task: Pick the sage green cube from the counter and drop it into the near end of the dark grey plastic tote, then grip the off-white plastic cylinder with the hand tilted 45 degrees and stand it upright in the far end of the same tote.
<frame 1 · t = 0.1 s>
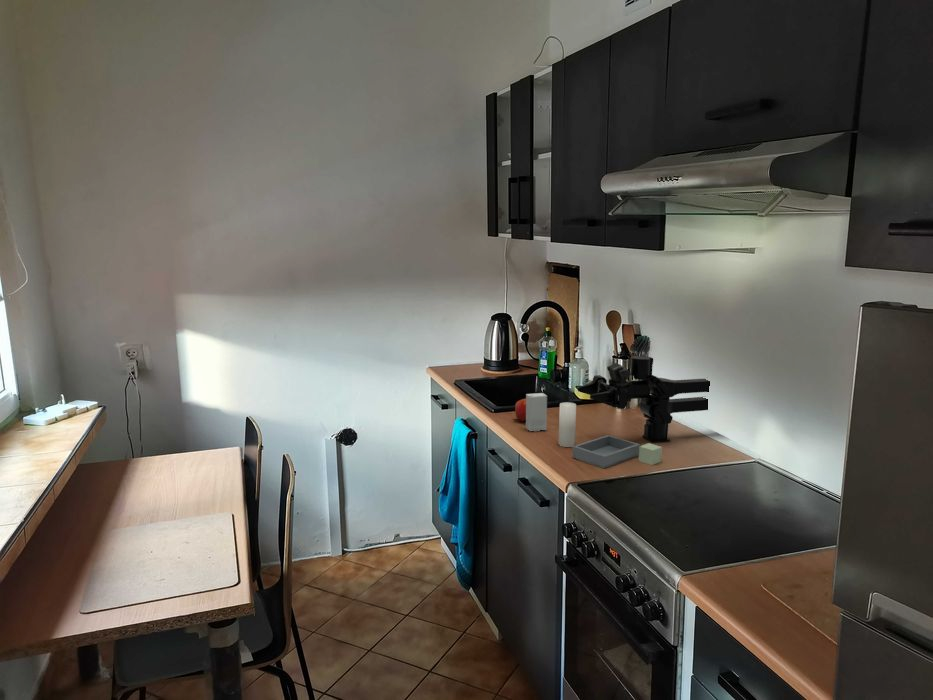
hand: (583, 393, 209), 17 cm above the worktop, tool horizontal, fingers open, 9 cm apart
white cylinder: (566, 445, 212), on the worktop
apple: (526, 422, 237), on the worktop
green cube: (649, 461, 198), on the worktop
tote: (606, 456, 201), on the worktop
skincare box: (535, 430, 227), on the worktop
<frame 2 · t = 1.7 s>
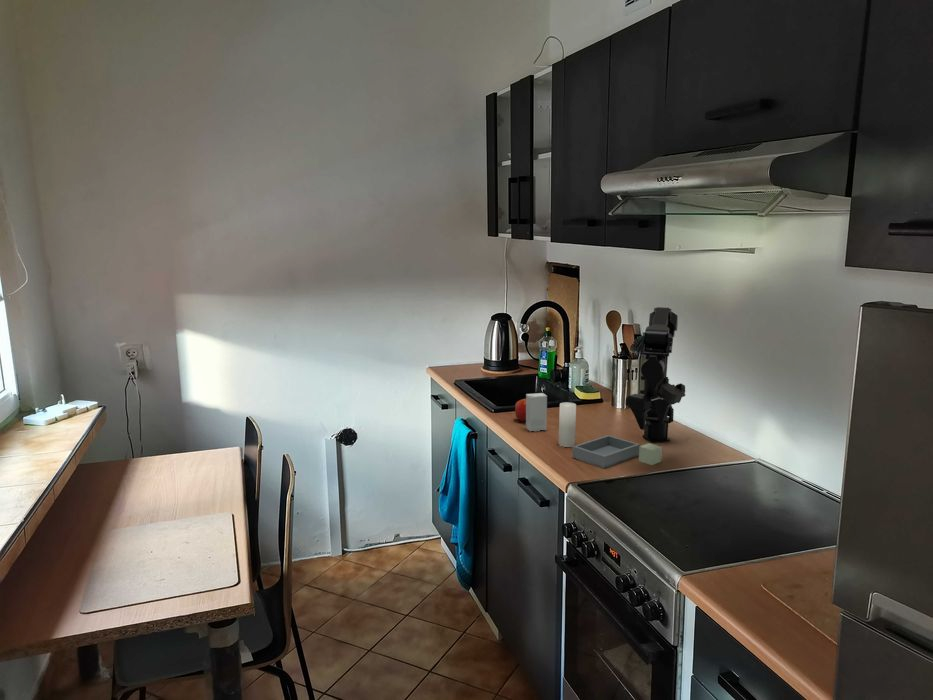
hand: (651, 426, 196), 10 cm above the worktop, tool pointing down, fingers open, 9 cm apart
nothing on the worktop moved.
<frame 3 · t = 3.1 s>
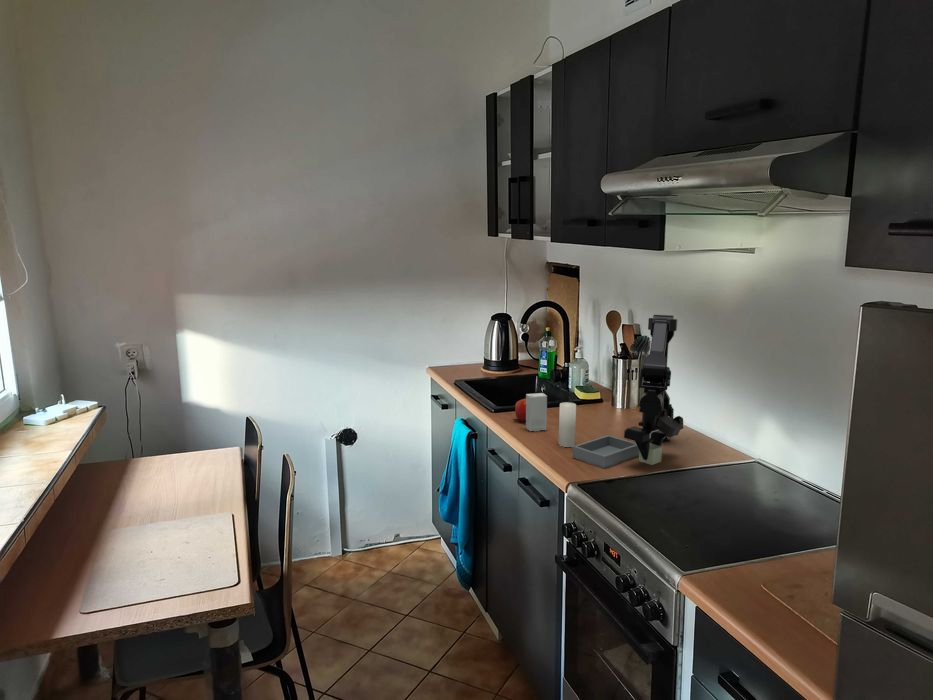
hand: (650, 457, 198), 1 cm above the worktop, tool pointing down, fingers closed on green cube, 4 cm apart
green cube: (649, 461, 198), on the worktop, touching gripper
everything else where it was.
when the fingers open (4 cm above the worktop, at t = 6.9 s): green cube drops 2 cm, resting on tote.
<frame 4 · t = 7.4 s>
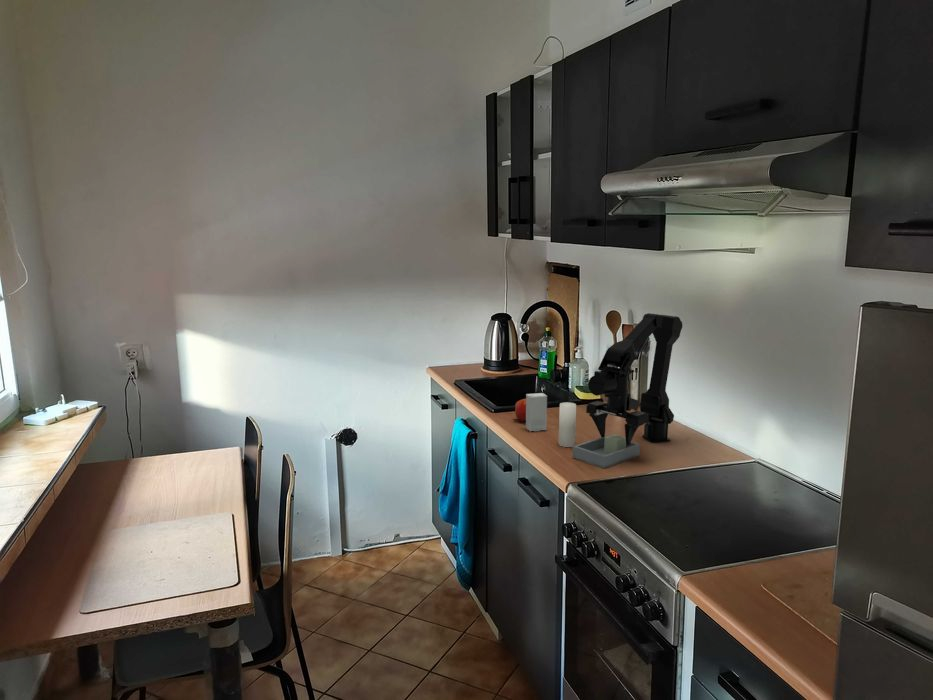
hand: (615, 440, 203), 4 cm above the worktop, tool pointing down, fingers open, 9 cm apart
green cube: (614, 451, 204), point 1 cm above the worktop, touching tote
everything else where it was.
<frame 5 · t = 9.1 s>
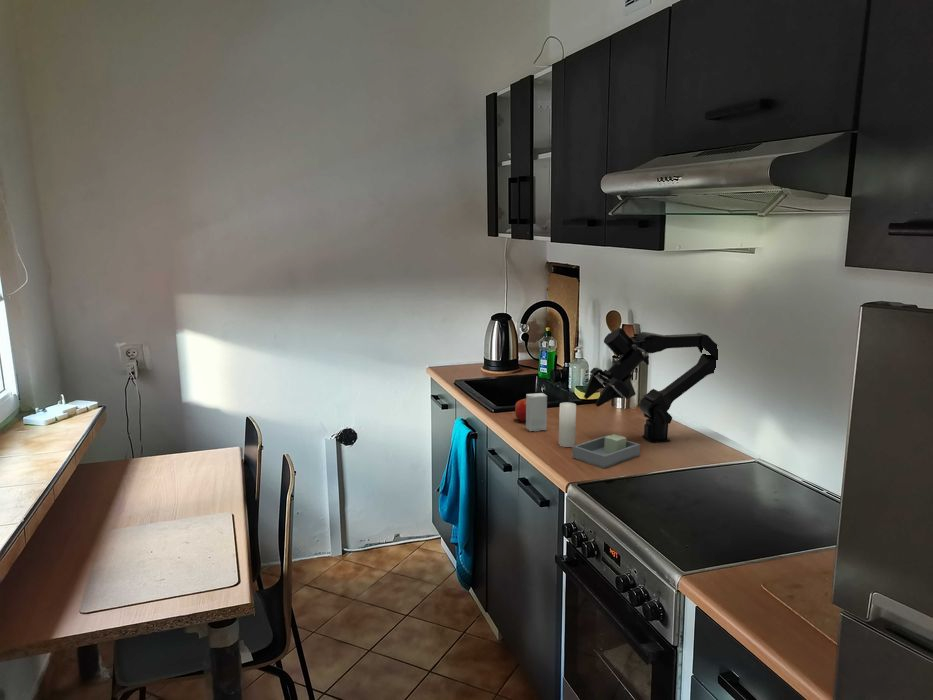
hand: (590, 401, 211), 13 cm above the worktop, tool tilted 45°, fingers open, 9 cm apart
nothing on the worktop moved.
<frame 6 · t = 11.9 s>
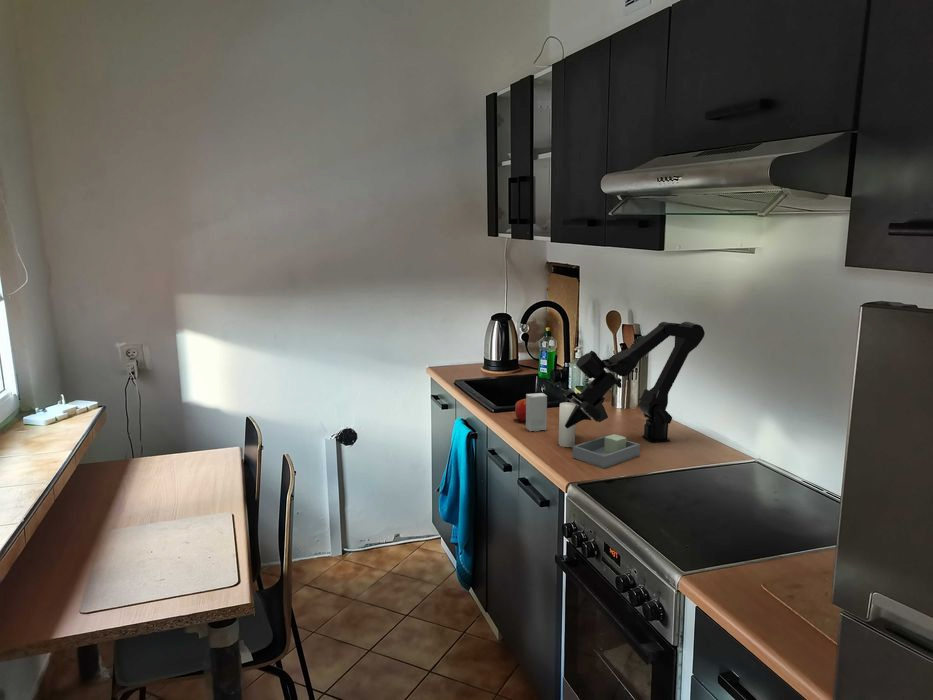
hand: (562, 424, 210), 7 cm above the worktop, tool tilted 45°, fingers closed on white cylinder, 5 cm apart
white cylinder: (566, 445, 212), on the worktop, touching gripper
everything else where it was.
when the fingers open (9 cm above the worktop, at t = 16.3 s): white cylinder drops 1 cm, resting on tote.
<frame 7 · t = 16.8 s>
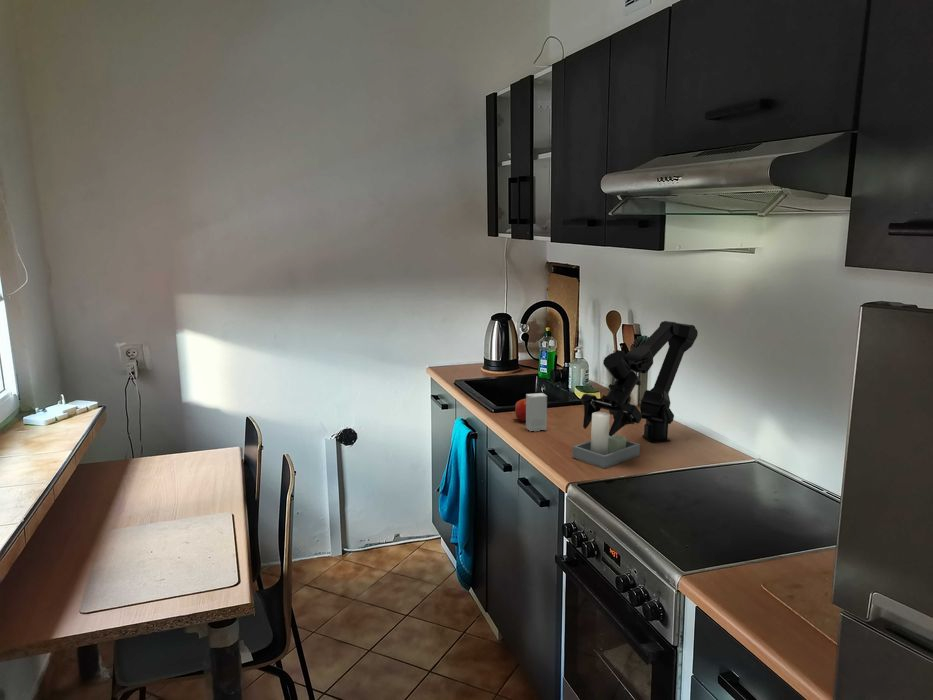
hand: (596, 431, 197), 9 cm above the worktop, tool tilted 45°, fingers open, 9 cm apart
white cylinder: (598, 457, 199), point 1 cm above the worktop, touching tote
everything else where it was.
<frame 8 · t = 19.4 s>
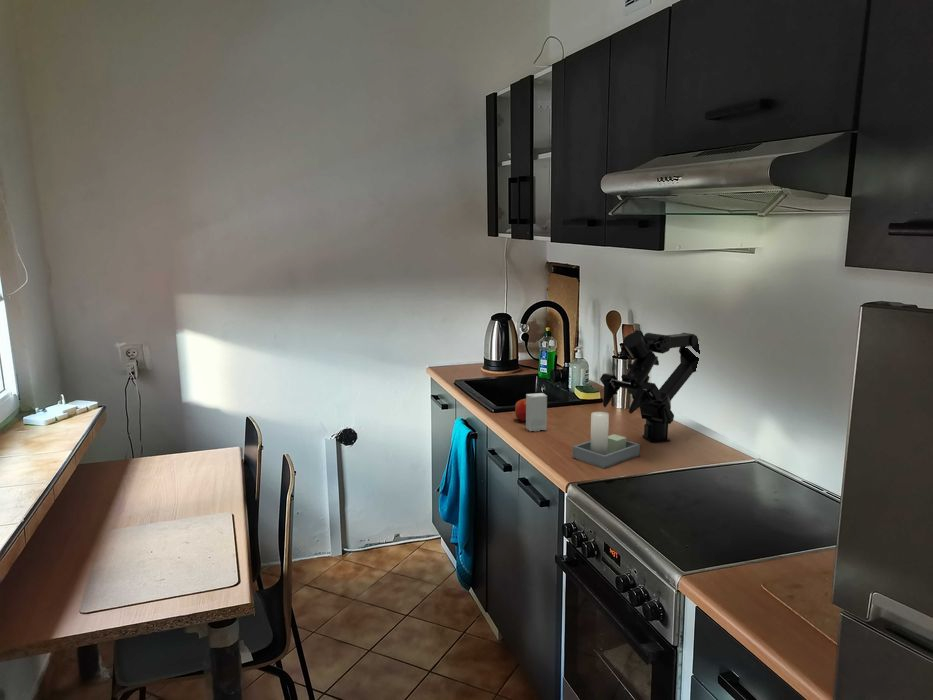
hand: (616, 409, 202), 14 cm above the worktop, tool tilted 45°, fingers open, 9 cm apart
nothing on the worktop moved.
at the end: green cube inside the target area on the tote (4.0 cm from its centre), point 0.6 cm above the tote's base; white cylinder inside the target area on the tote (3.5 cm from its centre), point 0.6 cm above the tote's base; white cylinder tilted 1° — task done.
